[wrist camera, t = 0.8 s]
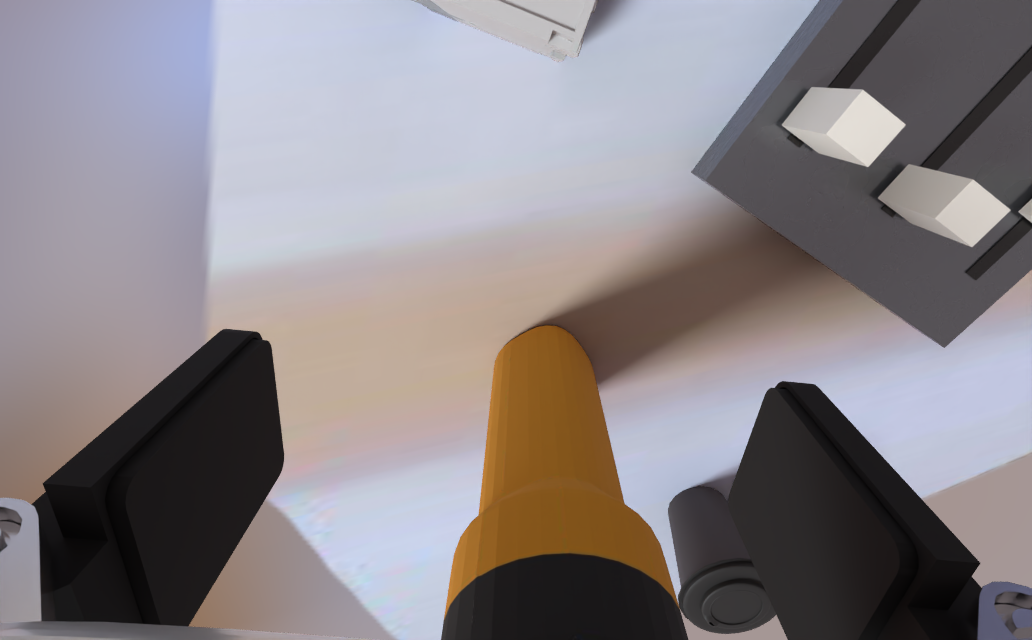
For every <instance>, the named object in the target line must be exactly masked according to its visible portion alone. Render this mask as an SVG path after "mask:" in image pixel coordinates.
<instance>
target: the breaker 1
mask: <svg viewBox="0 0 1032 640" xmlns="http://www.w3.org/2000/svg"><path fill="white" fill-rule="evenodd" d="M905 125H906V124H905V123H903V122H902V121H901V120H900V119H898V118H897V117H896V116H895V115H893V114H892V113H891V112H890V111H889V110H887V109H886V108H885V107H884V106H882V105H881V104H880V103H879V102H878V101H876V100H875V99H874V98H873V97H871V96H870V95H869V94H868V93H866V92H865V91H864V90H860V89H840V88H821V87H811V88H810V90H809V91H808V92H807V94H806V95H805V96H804V97H803V99H802V100H801V101H800V102H799V104H798V105H797V106H796V107H795V109H794V110H793V111H792V112H791V114H790V115H789V116H788V118H787V119H786V120H785V121H784V123H783V124H782V126H783V127H785V128H786V129H787V130H788V131H790V132H791V133H792V134H794V135H795V136H796V137H798V138H799V139H800V140H802V141H803V142H804V143H806V144H807V145H808V146H810V147H811V148H812V149H814V150H815V151H816V152H817V153H819V154H823V155H826V156H830V157H834V158H837V159H841V160H844V161H848V162H852V163H855V164H859V165H863V166H866V167H869V166H870V165H871V163H872V162H873V161H874V160H875V159H876V158H877V157H878V156H879V154H880V153H881V152H882V151H883V150H884V149H885V148H886V147H887V146H888V144H889V143H890V142H891V141H892V140H893V139H894V138H895V137H896V135H897V134H898V133H899V132H900V131H901V130H902V129H903V128H904V126H905Z"/></svg>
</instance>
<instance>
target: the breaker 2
mask: <svg viewBox="0 0 1032 640" xmlns="http://www.w3.org/2000/svg"><path fill="white" fill-rule="evenodd" d="M878 199H879V200H881V201H882V202H883V203H885V204H886V205H887V206H889V207H890V208H891V209H893V210H894V211H895V212H897V213H898V214H899V215H901V216H902V217H903V218H905V219H906V220H907V221H908V222H910V223H911V224H914V225H916V226H919V227H921V228H924V229H927V230H929V231H932V232H934V233H937V234H939V235H942V236H944V237H947V238H950V239H952V240H955V241H957V242H960V243H962V244H965V245H967V246H970V247H973V246H974V245H975V244H976V243H977V242H978V241H979V240H980V239H981V238H982V237H983V236H985V235H986V234H987V233H988V232H989V231H990V230H991V229H992V228H993V227H994V226H995V225H996V224H997V223H998V222H999V221H1000V220H1001V219H1002V218H1003V217H1004V216H1005V215H1006V214H1007V213H1008V212H1009V211H1011V210H1010V209H1009V208H1008V207H1006V206H1005V205H1004V204H1003V203H1002V202H1000V201H999V200H998V199H997V198H995V197H994V196H993V195H992V194H990V193H989V192H988V191H987V190H986V189H984V188H983V187H982V186H981V185H979V184H978V183H977V182H976V181H975V180H973V179H969V178H965V177H961V176H957V175H953V174H949V173H944V172H940V171H936V170H932V169H928V168H923V167H919V166H915V165H911V164H908V165H907V166H906V168H905V169H904V170H903V171H902V172H901V173H900V174H899V175H898V176H897V177H896V178H895V180H894V181H893V182H892V183H891V184H890V185H889V186H888V187H887V188H886V189H885V190H884V191H883V193H882V194H881V195H880V196H879V197H878Z"/></svg>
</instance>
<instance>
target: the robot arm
mask: <svg viewBox="0 0 1032 640" xmlns="http://www.w3.org/2000/svg"><path fill="white" fill-rule="evenodd" d="M283 463H284V450H283V441H282V433H281V424H280V416H279V407H278V399H277V390H276V382H275V373H274V364H273V356H272V348H271V345H270V343H269V342H268V341H266V340H262V337H261V335H260V334H259V333H258V332H253V331H242V330H232V329H223V330H222V331H220V332H219V333H218V334H216V335H215V336H214V337H213V338H212V339H211V340H209V341H208V342H207V343H206V344H205V345H204V346H202V347H201V348H200V349H199V350H198V351H197V352H195V353H194V354H193V355H192V356H191V357H190V358H189V359H187V360H186V361H185V362H184V363H183V364H182V365H180V366H179V367H178V368H177V369H176V370H175V371H173V372H172V373H171V374H170V375H169V376H167V377H166V378H165V379H164V380H163V381H162V382H161V383H159V384H158V385H157V386H156V387H155V388H154V389H152V390H151V391H150V392H149V393H148V394H147V395H145V396H144V397H143V398H142V399H141V400H139V401H138V402H137V403H136V404H135V405H134V406H133V407H131V408H130V409H129V410H128V411H127V412H126V413H124V414H123V415H122V416H121V417H120V418H119V419H117V420H116V421H115V422H114V423H113V424H111V425H110V426H109V427H108V428H107V429H106V430H104V431H103V432H102V433H101V434H100V435H99V436H98V437H96V438H95V439H94V440H93V441H92V442H90V443H89V444H88V445H87V446H86V447H85V448H84V449H82V450H81V451H80V452H79V453H78V454H76V455H75V456H74V457H73V458H72V459H71V460H70V461H69V462H67V463H66V464H65V465H64V466H62V467H61V468H60V469H59V470H58V471H57V472H55V473H54V474H53V475H52V476H51V477H50V478H49V479H47V480H46V481H45V482H44V483H43V485H44V488H45V491H46V492H45V493H44V494H43V495H42V496H41V497H39V498H38V499H37V500H36V501H35V502H34V503H33V504H29V503H28V502H26V501H24V500H20V499H13V498H0V640H377V639H363V638H350V637H335V636H322V635H308V634H294V633H281V632H267V631H253V630H239V629H224V628H206V627H188V626H189V624H190V622H191V621H192V619H193V618H194V616H195V614H196V612H197V611H198V609H199V608H200V606H201V604H202V603H203V601H204V599H205V598H206V596H207V594H208V593H209V591H210V589H211V588H212V586H213V584H214V583H215V581H216V580H217V578H218V576H219V575H220V573H221V571H222V570H223V568H224V566H225V565H226V563H227V561H228V560H229V558H230V556H231V555H232V553H233V551H234V550H235V548H236V546H237V545H238V543H239V542H240V540H241V538H242V537H243V535H244V533H245V532H246V530H247V528H248V527H249V525H250V523H251V522H252V520H253V518H254V517H255V515H256V513H257V512H258V510H259V509H260V507H261V505H262V504H263V502H264V500H265V499H266V497H267V495H268V494H269V492H270V490H271V489H272V487H273V485H274V484H275V482H276V481H277V479H278V477H279V475H280V473H281V471H282V468H283ZM728 506H729V512H730V515H731V517H732V519H733V521H734V523H735V526H736V528H737V530H738V532H739V534H740V536H741V539H742V541H743V543H744V545H745V547H746V550H747V552H748V554H749V556H750V558H751V560H752V563H753V565H754V567H755V569H756V571H757V573H758V576H759V578H760V580H761V582H762V584H763V586H764V589H765V591H766V593H767V595H768V597H769V599H770V602H771V604H772V606H773V608H774V610H775V612H776V615H777V617H778V619H779V621H780V623H781V625H782V627H783V630H784V632H785V634H786V636H787V638H788V640H1032V588H1029V587H1026V586H1022V585H1018V584H1015V583H1010V582H991V583H989V584H987V585H985V586H983V587H982V588H981V587H980V586H979V585H978V583H977V582H976V581H975V580H974V579H973V578H972V577H971V576H972V575H973V573H974V572H975V570H976V569H977V567H978V566H979V564H980V563H979V561H978V560H977V559H976V558H975V557H974V556H973V555H972V554H971V552H970V551H969V550H968V549H967V548H966V547H965V546H964V545H963V544H962V543H961V542H960V540H959V539H958V538H957V537H956V536H955V535H954V534H953V533H952V532H951V531H950V530H949V529H948V528H947V526H946V525H945V524H944V523H943V522H942V521H941V520H940V519H939V518H938V517H937V516H936V514H935V513H934V512H933V511H932V510H931V509H930V508H929V507H928V506H927V505H926V504H925V503H924V501H923V500H922V499H921V498H920V497H919V496H918V495H917V494H916V493H915V492H914V491H913V490H912V488H911V487H910V486H909V485H908V484H907V483H906V482H905V481H904V480H903V479H902V478H901V477H900V475H899V474H898V473H897V472H896V471H895V470H894V469H893V468H892V467H891V466H890V465H889V463H888V462H887V461H886V460H885V459H884V458H883V457H882V456H881V455H880V454H879V453H878V452H877V450H876V449H875V448H874V447H873V446H872V445H871V444H870V443H869V442H868V441H867V440H866V439H865V437H864V436H863V435H862V434H861V433H860V432H859V431H858V430H857V429H856V428H855V427H854V426H853V424H852V423H851V422H850V421H849V420H848V419H847V418H846V417H845V416H844V415H843V414H842V413H841V411H840V410H839V409H838V408H837V407H836V406H835V405H834V404H833V403H832V402H831V401H830V399H829V398H828V397H827V396H826V395H825V394H824V393H823V392H822V391H821V390H820V389H819V388H818V387H817V386H816V385H814V384H807V383H796V382H785V381H782V382H780V383H778V384H777V386H776V387H775V388H770V389H769V390H768V391H767V392H766V394H765V397H764V399H763V402H762V405H761V408H760V410H759V413H758V416H757V419H756V421H755V424H754V427H753V430H752V433H751V435H750V438H749V441H748V444H747V446H746V449H745V452H744V455H743V457H742V460H741V463H740V466H739V469H738V471H737V474H736V477H735V480H734V482H733V485H732V488H731V491H730V494H729V499H728Z"/></svg>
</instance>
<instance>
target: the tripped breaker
mask: <svg viewBox="0 0 1032 640" xmlns="http://www.w3.org/2000/svg"><path fill="white" fill-rule="evenodd" d="M1018 212H1019V213H1020V214H1021V215H1023V216H1024V217H1025V218H1026V219H1028V220H1029V221H1030V222H1031V223H1032V199H1031V200H1030V201H1029V202H1028V203H1027V204H1026V205H1025V206H1024V207H1023V208H1022V209H1021V210H1019V211H1018Z"/></svg>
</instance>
